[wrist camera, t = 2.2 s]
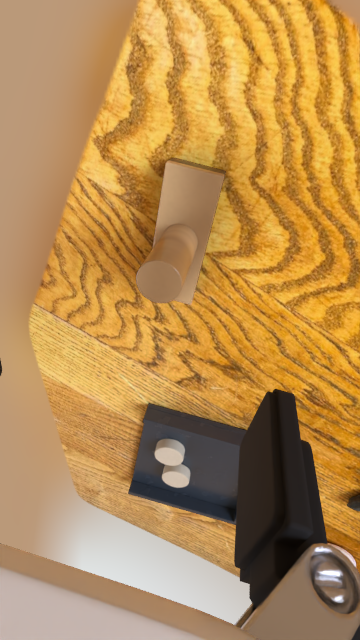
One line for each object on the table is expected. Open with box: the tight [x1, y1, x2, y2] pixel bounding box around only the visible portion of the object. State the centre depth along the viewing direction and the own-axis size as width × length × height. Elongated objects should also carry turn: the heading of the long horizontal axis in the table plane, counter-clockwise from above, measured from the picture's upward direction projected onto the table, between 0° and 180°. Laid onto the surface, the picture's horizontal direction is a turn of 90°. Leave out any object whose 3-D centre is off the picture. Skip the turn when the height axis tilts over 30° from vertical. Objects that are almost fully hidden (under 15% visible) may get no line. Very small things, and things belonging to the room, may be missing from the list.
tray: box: [128, 403, 247, 525], centre depth 36 cm, size 14×15×2 cm
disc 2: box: [162, 464, 190, 488], centre depth 37 cm, size 3×3×1 cm
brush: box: [136, 158, 226, 305], centre depth 19 cm, size 4×9×8 cm, turn 169°
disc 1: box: [155, 439, 185, 466], centre depth 35 cm, size 3×3×1 cm
